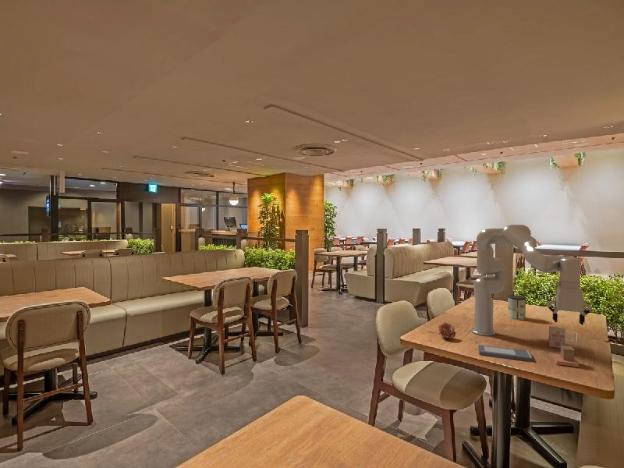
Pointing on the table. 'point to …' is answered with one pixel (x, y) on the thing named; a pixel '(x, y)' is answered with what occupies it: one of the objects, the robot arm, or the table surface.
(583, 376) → the table surface
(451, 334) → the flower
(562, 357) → the stub
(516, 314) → the coffee can
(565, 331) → the graded card
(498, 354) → the ticket board
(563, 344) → the printed box
